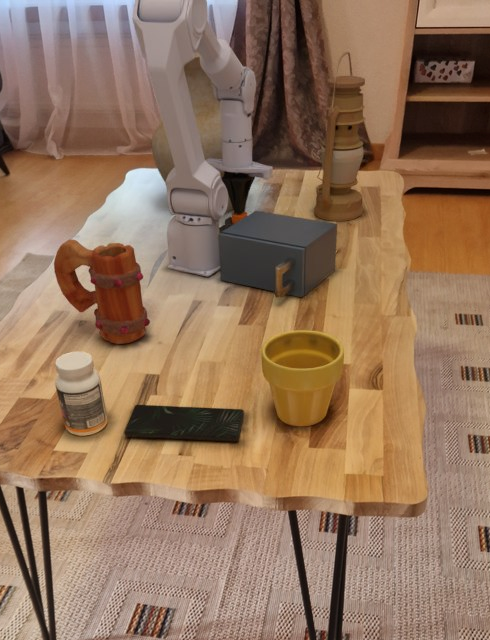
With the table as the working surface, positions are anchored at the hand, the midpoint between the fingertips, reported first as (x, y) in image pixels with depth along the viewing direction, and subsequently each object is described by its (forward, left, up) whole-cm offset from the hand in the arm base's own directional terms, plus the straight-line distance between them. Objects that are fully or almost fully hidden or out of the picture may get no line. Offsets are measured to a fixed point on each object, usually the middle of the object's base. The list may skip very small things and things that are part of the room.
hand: (239, 212), depth 146 cm
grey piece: (+17, -23, -4) cm, 29 cm away
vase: (-17, +13, -5) cm, 22 cm away
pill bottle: (+18, -69, -5) cm, 71 cm away
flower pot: (+42, -53, -5) cm, 68 cm away
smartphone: (+30, -63, -5) cm, 70 cm away
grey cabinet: (+17, -14, -5) cm, 22 cm away
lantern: (+12, +21, -5) cm, 24 cm away
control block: (0, 0, -5) cm, 5 cm away
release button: (0, 0, -2) cm, 2 cm away
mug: (+4, -47, -5) cm, 47 cm away
